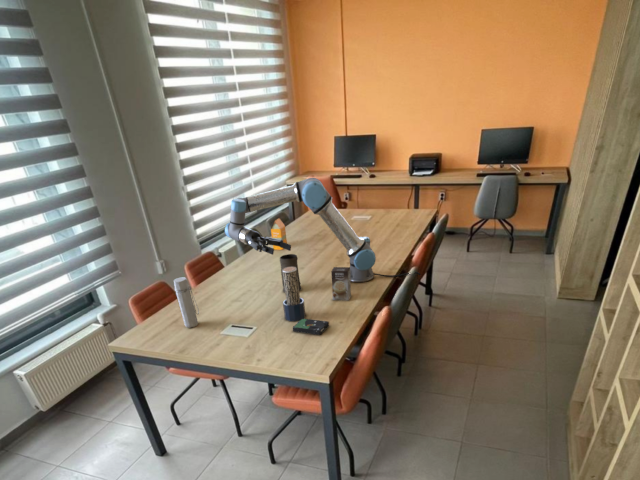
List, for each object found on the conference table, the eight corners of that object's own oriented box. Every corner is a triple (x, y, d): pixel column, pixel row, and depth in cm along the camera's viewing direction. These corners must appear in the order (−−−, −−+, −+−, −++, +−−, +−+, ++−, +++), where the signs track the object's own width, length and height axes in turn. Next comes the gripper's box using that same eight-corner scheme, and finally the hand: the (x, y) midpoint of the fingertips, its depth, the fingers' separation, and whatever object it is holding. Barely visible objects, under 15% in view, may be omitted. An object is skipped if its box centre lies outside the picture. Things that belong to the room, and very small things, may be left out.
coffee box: (332, 300, 243) (330, 271, 234) (335, 295, 248) (333, 266, 238) (348, 300, 240) (347, 271, 231) (351, 295, 245) (350, 266, 235)
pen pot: (307, 312, 234) (305, 297, 229) (303, 321, 226) (301, 305, 221) (287, 312, 237) (285, 297, 232) (283, 321, 229) (280, 305, 224)
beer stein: (299, 293, 256) (296, 257, 246) (281, 294, 259) (277, 258, 248) (304, 285, 269) (301, 250, 258) (286, 286, 271) (283, 252, 261)
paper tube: (288, 315, 234) (282, 267, 220) (301, 313, 234) (295, 265, 220) (289, 320, 229) (283, 272, 214) (302, 318, 229) (297, 270, 214)
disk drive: (329, 326, 218) (302, 322, 225) (329, 321, 216) (301, 317, 223) (320, 336, 211) (292, 332, 217) (319, 330, 209) (291, 326, 216)
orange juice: (273, 249, 332) (269, 221, 320) (278, 245, 338) (274, 217, 327) (283, 249, 329) (279, 221, 318) (287, 245, 336) (284, 217, 324)
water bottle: (187, 329, 235) (174, 283, 220) (183, 324, 240) (170, 279, 226) (203, 324, 237) (192, 278, 223) (199, 319, 243) (187, 274, 229)
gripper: (265, 242, 242) (296, 253, 232) (232, 248, 224) (264, 261, 215) (266, 227, 237) (298, 238, 228) (233, 232, 220) (266, 245, 211)
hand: (282, 249), depth 222 cm, fingers open, 13 cm apart
